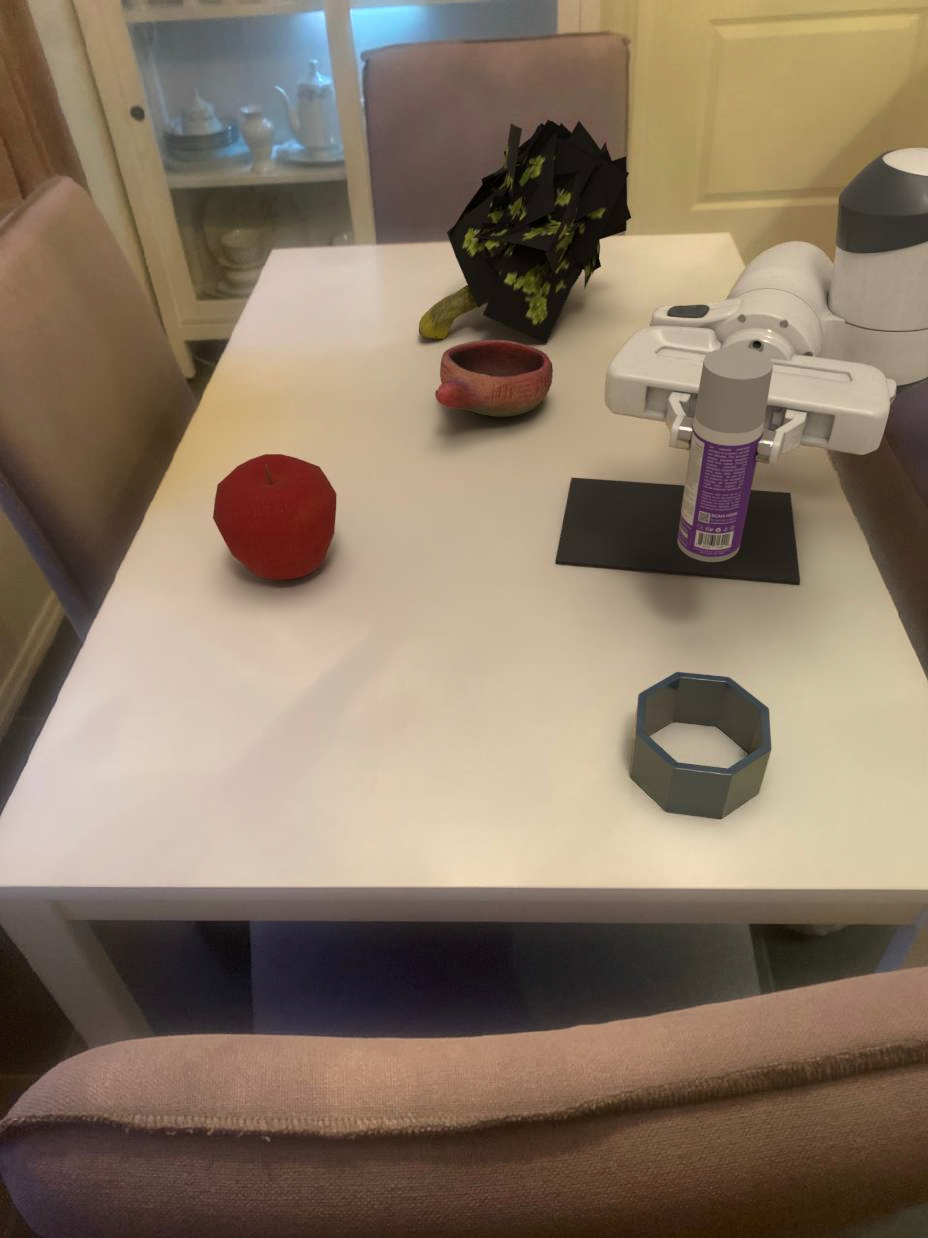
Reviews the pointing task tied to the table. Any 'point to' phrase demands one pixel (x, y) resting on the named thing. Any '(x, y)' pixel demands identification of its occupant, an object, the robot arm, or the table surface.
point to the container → (723, 451)
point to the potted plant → (534, 230)
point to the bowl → (494, 377)
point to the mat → (671, 533)
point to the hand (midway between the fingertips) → (722, 447)
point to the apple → (276, 515)
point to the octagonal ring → (703, 705)
